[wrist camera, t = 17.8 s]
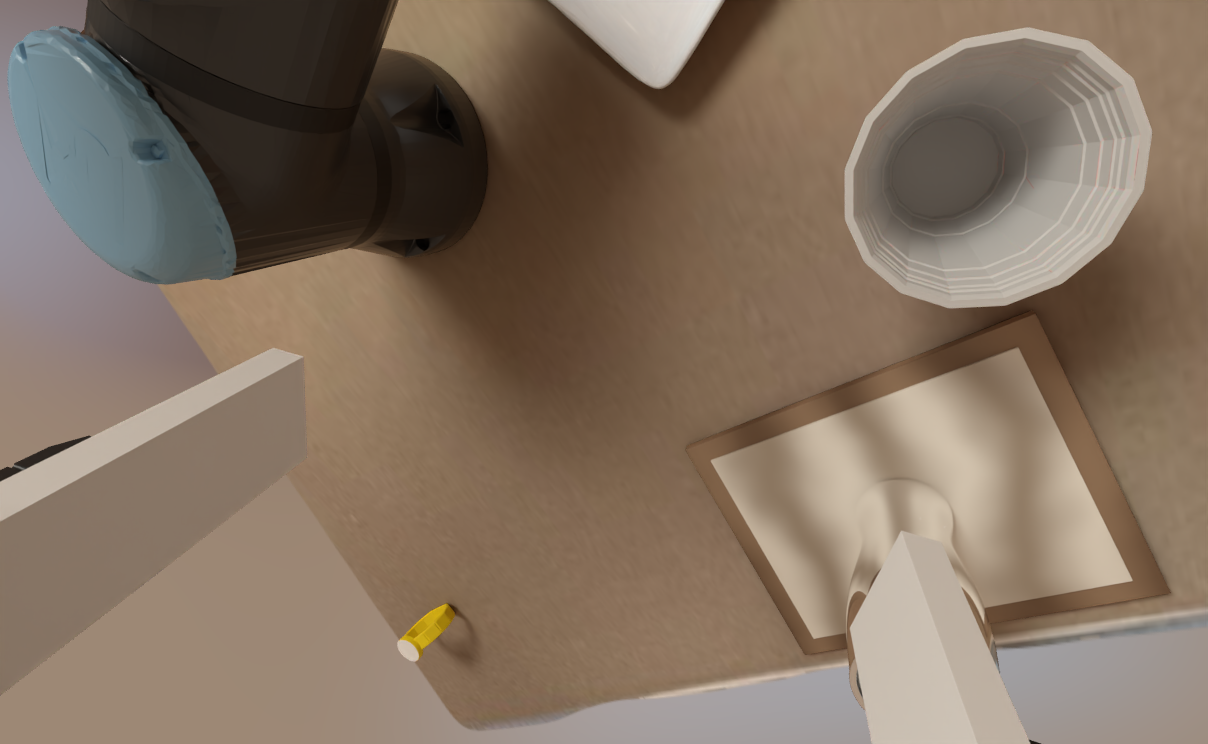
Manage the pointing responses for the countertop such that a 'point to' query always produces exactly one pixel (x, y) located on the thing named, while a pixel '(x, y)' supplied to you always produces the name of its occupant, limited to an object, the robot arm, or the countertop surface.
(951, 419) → the picture frame
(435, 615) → the watch
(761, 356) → the countertop surface
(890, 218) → the plastic cup
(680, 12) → the salad plate
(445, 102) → the robot arm
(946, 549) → the beer glass
